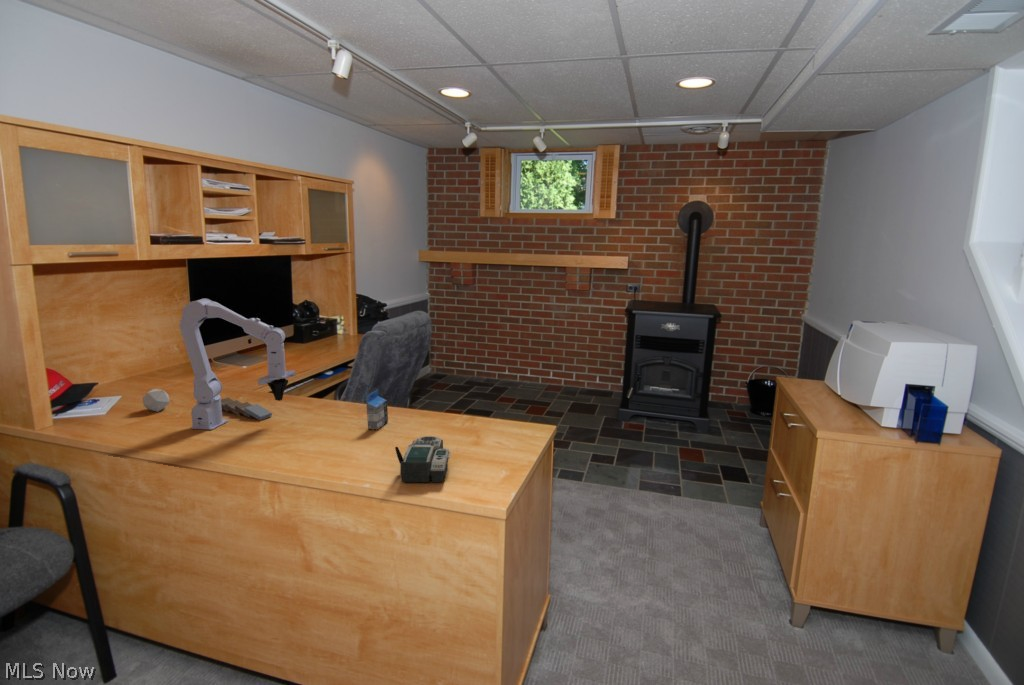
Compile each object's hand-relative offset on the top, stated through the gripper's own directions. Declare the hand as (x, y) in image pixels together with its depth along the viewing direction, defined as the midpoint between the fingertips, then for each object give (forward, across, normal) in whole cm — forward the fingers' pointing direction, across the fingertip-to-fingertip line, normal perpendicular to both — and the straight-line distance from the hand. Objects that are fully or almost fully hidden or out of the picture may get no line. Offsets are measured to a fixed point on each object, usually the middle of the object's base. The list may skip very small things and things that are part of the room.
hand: (278, 399), depth 189 cm
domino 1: (+7, 0, +25) cm, 26 cm away
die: (+9, -12, +51) cm, 53 cm away
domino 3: (+8, 0, +12) cm, 15 cm away
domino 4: (+7, 0, +7) cm, 10 cm away
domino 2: (+8, 0, +18) cm, 20 cm away
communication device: (+8, -5, -67) cm, 68 cm away
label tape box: (+8, +13, -33) cm, 37 cm away
